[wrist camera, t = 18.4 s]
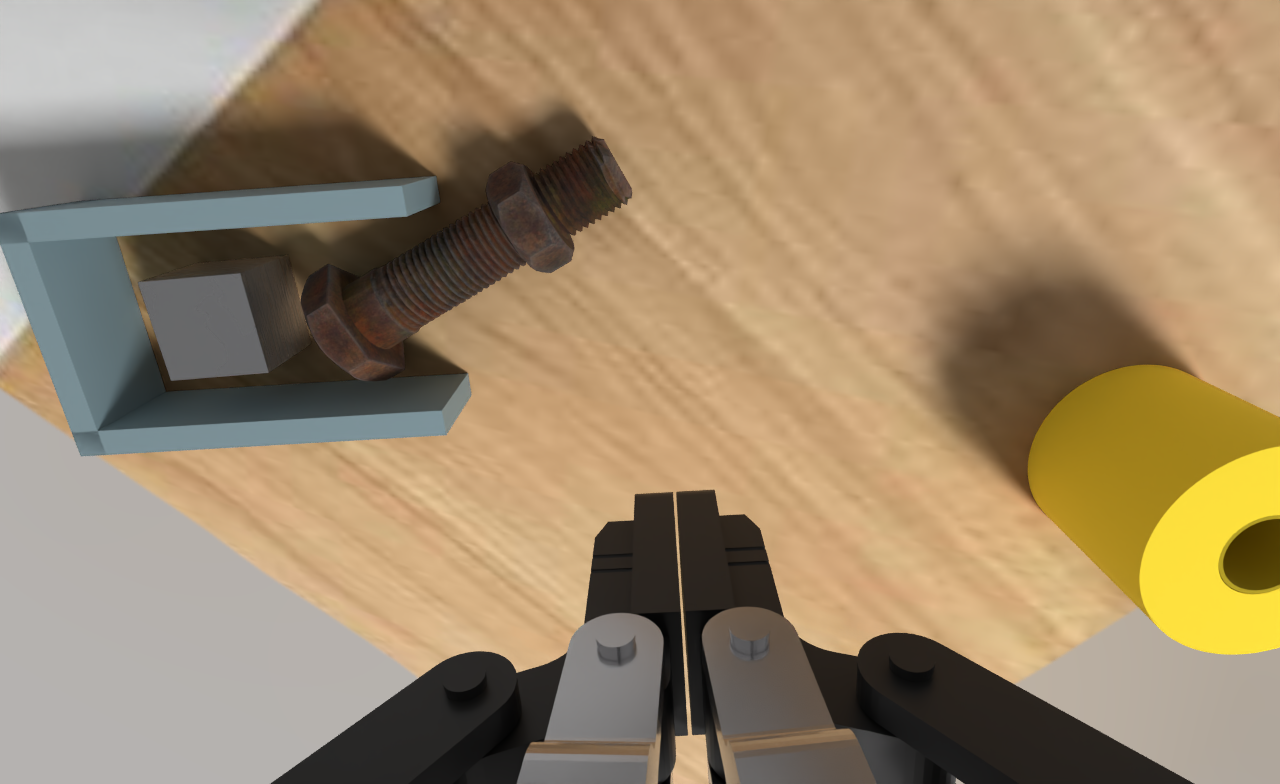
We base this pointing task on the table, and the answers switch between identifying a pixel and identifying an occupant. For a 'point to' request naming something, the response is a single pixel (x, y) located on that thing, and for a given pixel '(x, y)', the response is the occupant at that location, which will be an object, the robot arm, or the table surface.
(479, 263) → the bolt
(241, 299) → the block
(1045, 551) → the table surface
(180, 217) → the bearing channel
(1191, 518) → the yellow hollow cylinder
